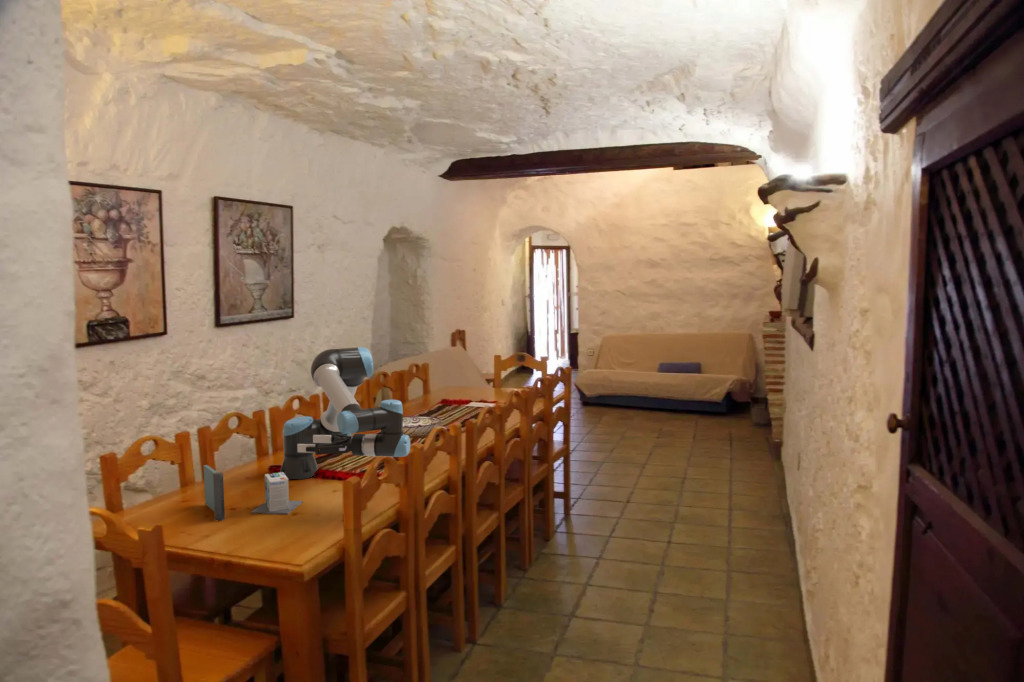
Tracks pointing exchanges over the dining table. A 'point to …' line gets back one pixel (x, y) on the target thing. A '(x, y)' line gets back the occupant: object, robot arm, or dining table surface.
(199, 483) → the dining table surface
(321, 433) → the robot arm
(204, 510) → the dining table surface
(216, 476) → the gate post
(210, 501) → the gate
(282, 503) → the light bulb box
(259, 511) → the rubber mat
